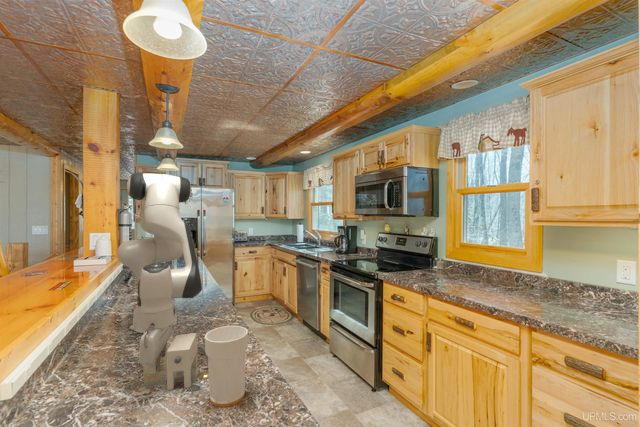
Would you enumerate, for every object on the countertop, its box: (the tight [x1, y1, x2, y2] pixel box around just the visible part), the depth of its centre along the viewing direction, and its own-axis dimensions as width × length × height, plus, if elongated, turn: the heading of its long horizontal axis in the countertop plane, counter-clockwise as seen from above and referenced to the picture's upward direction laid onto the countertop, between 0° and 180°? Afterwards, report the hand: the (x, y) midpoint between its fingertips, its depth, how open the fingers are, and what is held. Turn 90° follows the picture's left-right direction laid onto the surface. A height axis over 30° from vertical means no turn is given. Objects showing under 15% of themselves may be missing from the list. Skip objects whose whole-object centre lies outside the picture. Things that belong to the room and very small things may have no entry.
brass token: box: [197, 369, 209, 380], centre depth 94 cm, size 4×4×1 cm
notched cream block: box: [166, 332, 198, 391], centre depth 92 cm, size 13×6×11 cm, turn 12°
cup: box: [204, 325, 249, 408], centre depth 83 cm, size 11×11×17 cm
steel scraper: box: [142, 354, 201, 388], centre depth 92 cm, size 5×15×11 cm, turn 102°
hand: (157, 364), depth 91 cm, fingers open, 8 cm apart
